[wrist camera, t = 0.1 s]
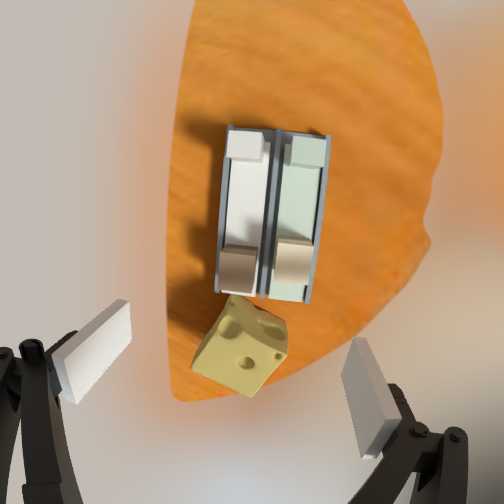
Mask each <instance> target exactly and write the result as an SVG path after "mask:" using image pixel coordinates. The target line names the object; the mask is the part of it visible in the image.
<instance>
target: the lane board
mask: <svg viewBox="0 0 504 504" xmlns="http://www.w3.org/2000/svg"><path fill="white" fill-rule="evenodd" d="M229 130H233V131H249V132H262V134H263V137H264V140H265V142H270V143H271V147H270V157H269V167H268V178H267V188H266V198H265V208H264V218H263V228H262V238H261V247H260V257H259V267H258V276H257V286H256V294H260V296H259V299H264V296H265V295H269V291H270V283H271V274H272V266H273V257H274V249H275V240H276V231H277V222H278V213H279V203H280V194H281V184H282V174H283V164H284V153H285V144H289V145H291V142H292V139H293V136H301V137H308V138H316V139H323V140H326V151H325V162H324V167H322V168H320V177H319V186H318V195H317V204H316V212H315V220H314V228H313V235H312V244H313V246H314V250H313V257H312V263H311V270H310V276H309V282H308V285H305V289H304V295H303V299H304V303H305V304H309V303H310V297H311V291H312V286H313V280H314V273H315V267H316V261H317V254H318V248H319V241H320V233H321V226H322V219H323V211H324V203H325V194H326V185H327V176H328V166H329V156H330V144H331V135H327V134H326V135H325V136H318V135H311V134H303V133H295V132H286V131H282V129H279V128H277V130H266V129H253V128H238V127H234V126H233V125H227V132H226V142H225V153H224V163H223V174H222V186H221V198H220V211H219V224H218V238H217V253H216V270H215V288H214V293H218V294H219V292H220V290H218V273H219V258H220V251H221V250H222V249H223V248H224V246H225V234H226V221H227V209H228V197H229V185H230V174H231V163H232V159H230V158H228V157H226V153H227V143H228V133H229Z"/></svg>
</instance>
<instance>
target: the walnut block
mask: <svg viewBox="0 0 504 504" xmlns="http://www.w3.org/2000/svg"><path fill="white" fill-rule="evenodd" d="M257 253H258V247H254V246H245V245H236V244H226V245H225V246H224V248H223V249H222V250H221V251H220V258H219V273H218V290H226V291H234V292H241V293H250V294H251V293H252V289H253V285H254V281H255V272H256V263H257Z"/></svg>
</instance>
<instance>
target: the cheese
mask: <svg viewBox="0 0 504 504" xmlns="http://www.w3.org/2000/svg"><path fill="white" fill-rule="evenodd" d="M287 355H288V330H287V324H286V322H285V321H283V320H281V319H280V318H278V317H276V316H274V315H272V314H271V313H269V312H267V311H263V310H258V309H257V308H255V307H254V306H253V303H252V302H250V301H249V300H247V299H246V298H244V297H243V296H241V295H236V294H230V296H229V297H228V299H227V302H226V304H225V307H224V309H223V310H222V312H221V314H220V315H219V317H218V318H217V320H216V321H215V323H214V325H213V326H212V328H211V329H210V330H209V332H208V333H207V334H206V336H205V337H204V339H203V340H202V342H201V344H200V345H199V347H198V349H197V351H196V353H195V355H194V358H193V361H192V364H191V367H190V369H191V370H192V371H194V372H196V373H198V374H201V375H203V376H205V377H208V378H210V379H212V380H214V381H216V382H219V383H221V384H223V385H225V386H227V387H229V388H231V389H233V390H235V391H237V392H239V393H241V394H243V395H245V396H247V397H249V398H251V397H252V396H253V395H254V394H255V393H256V392H257V391H258V390H259V388H260V387H261V386H262V385H263V383H264V382H265V381H266V379H267V378H268V377H269V376H270V374H271V373H272V372H273V371H274V370H275V369H276V368H277V367H278V366H279V364H280V363H281V362H282V361H283V360H284V359H285V358H286V357H287Z"/></svg>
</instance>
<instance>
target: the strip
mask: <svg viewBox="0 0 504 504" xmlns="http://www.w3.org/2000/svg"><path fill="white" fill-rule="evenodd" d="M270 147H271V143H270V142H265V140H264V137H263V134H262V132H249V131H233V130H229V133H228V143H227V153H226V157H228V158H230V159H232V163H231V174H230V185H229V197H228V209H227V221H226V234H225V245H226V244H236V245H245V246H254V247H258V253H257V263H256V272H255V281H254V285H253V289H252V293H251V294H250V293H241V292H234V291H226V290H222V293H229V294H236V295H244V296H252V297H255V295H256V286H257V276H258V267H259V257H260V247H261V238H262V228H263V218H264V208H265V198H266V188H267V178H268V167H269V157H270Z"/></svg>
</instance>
